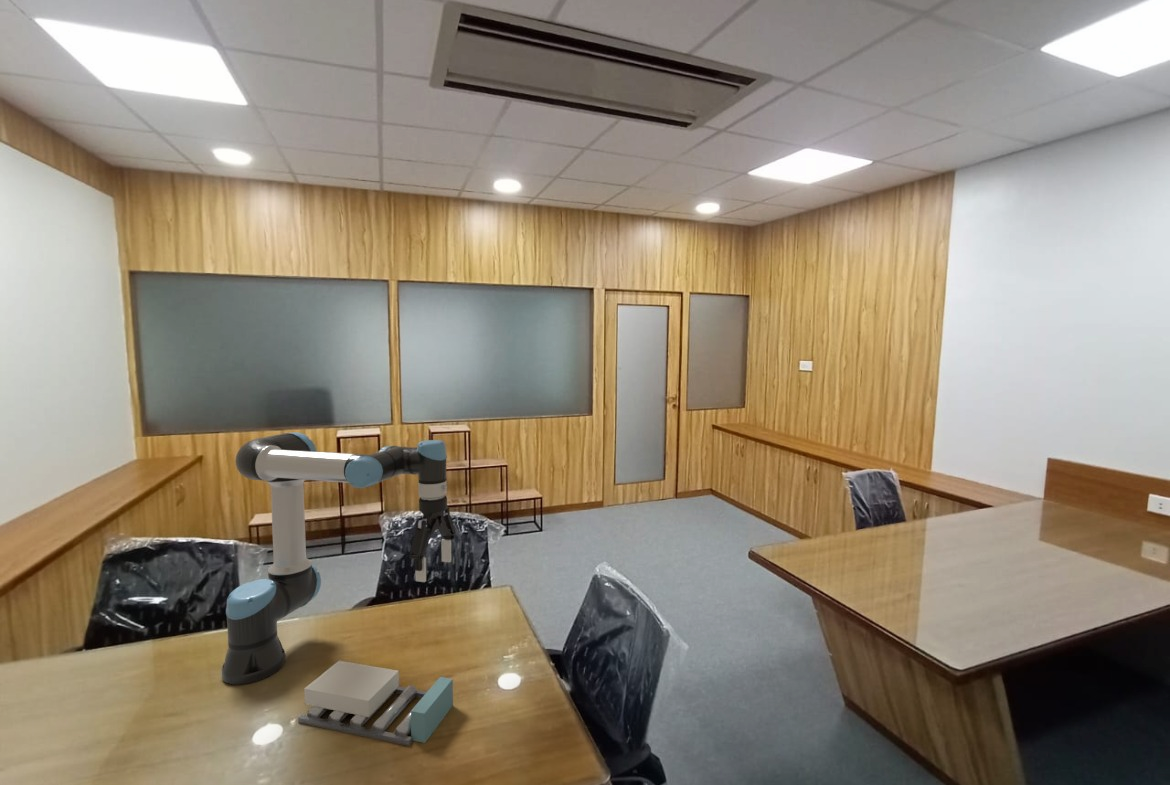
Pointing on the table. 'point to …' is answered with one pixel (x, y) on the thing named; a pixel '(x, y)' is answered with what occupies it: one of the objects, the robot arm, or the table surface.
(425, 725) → the stop block
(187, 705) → the table surface
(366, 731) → the roller bed
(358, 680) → the slab
